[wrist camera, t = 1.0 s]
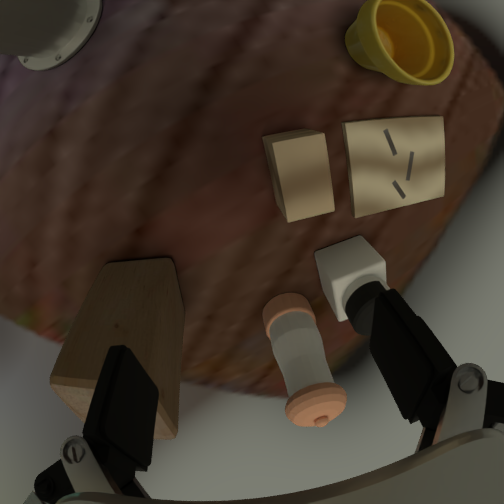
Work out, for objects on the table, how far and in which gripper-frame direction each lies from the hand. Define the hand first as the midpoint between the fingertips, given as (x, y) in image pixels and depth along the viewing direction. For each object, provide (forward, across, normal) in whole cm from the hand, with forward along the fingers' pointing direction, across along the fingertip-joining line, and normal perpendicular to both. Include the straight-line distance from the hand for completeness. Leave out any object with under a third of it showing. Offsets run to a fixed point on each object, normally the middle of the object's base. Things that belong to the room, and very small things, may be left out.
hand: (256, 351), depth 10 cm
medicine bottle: (+25, -12, +14) cm, 31 cm away
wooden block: (+24, +15, +11) cm, 30 cm away
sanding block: (+24, -7, -1) cm, 25 cm away
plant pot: (+24, -19, -15) cm, 34 cm away
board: (+24, -22, 0) cm, 33 cm away
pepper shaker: (+25, -4, +20) cm, 32 cm away
